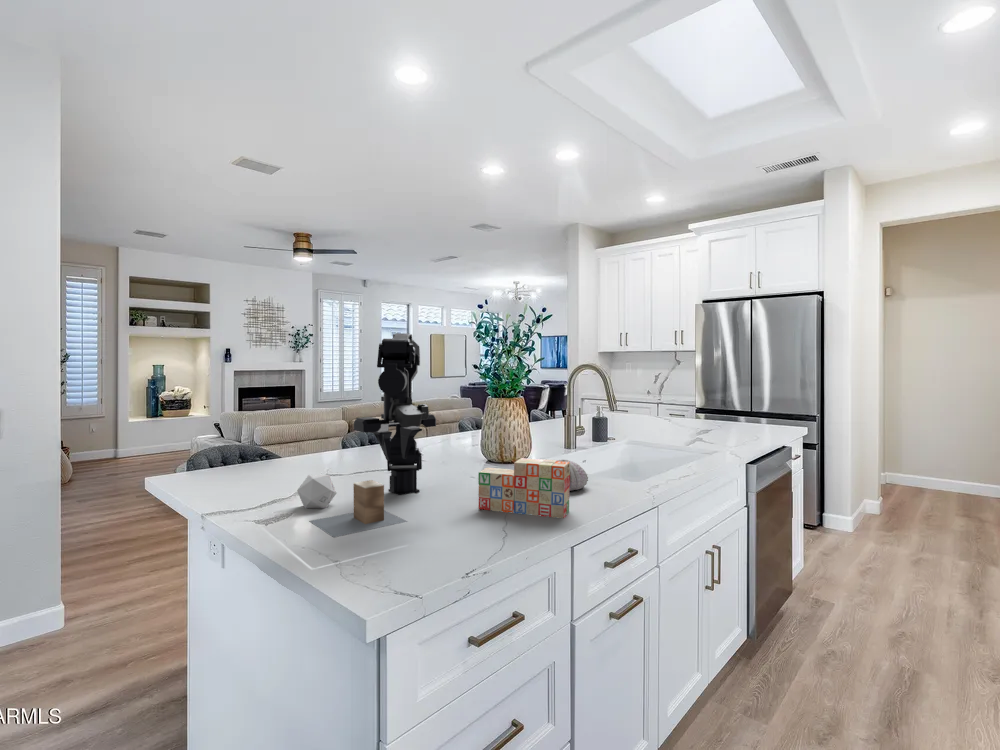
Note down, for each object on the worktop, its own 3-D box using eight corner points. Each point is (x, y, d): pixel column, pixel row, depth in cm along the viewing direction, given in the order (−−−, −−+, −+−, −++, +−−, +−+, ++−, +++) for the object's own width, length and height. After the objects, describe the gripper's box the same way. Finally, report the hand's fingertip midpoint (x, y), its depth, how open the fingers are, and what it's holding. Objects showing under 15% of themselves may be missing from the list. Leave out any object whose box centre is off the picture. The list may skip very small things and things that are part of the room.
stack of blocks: (477, 510, 129) (477, 459, 129) (486, 503, 135) (487, 455, 134) (564, 519, 122) (564, 465, 121) (570, 511, 128) (570, 460, 127)
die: (313, 517, 124) (338, 481, 127) (284, 497, 126) (310, 462, 129) (324, 519, 132) (347, 486, 135) (296, 501, 134) (320, 468, 136)
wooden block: (372, 514, 123) (371, 480, 123) (384, 520, 119) (383, 484, 119) (353, 517, 121) (353, 482, 120) (365, 524, 116) (365, 487, 116)
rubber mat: (378, 508, 129) (378, 507, 129) (407, 522, 118) (407, 521, 118) (308, 522, 118) (308, 520, 118) (333, 538, 107) (333, 537, 107)
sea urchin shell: (534, 491, 147) (534, 462, 147) (547, 481, 160) (547, 454, 160) (582, 495, 143) (582, 466, 142) (591, 484, 155) (591, 457, 155)
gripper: (374, 395, 111) (375, 470, 112) (449, 392, 123) (449, 459, 124) (352, 393, 120) (352, 462, 120) (424, 390, 132) (424, 453, 132)
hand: (396, 459), depth 124 cm, fingers open, 4 cm apart
